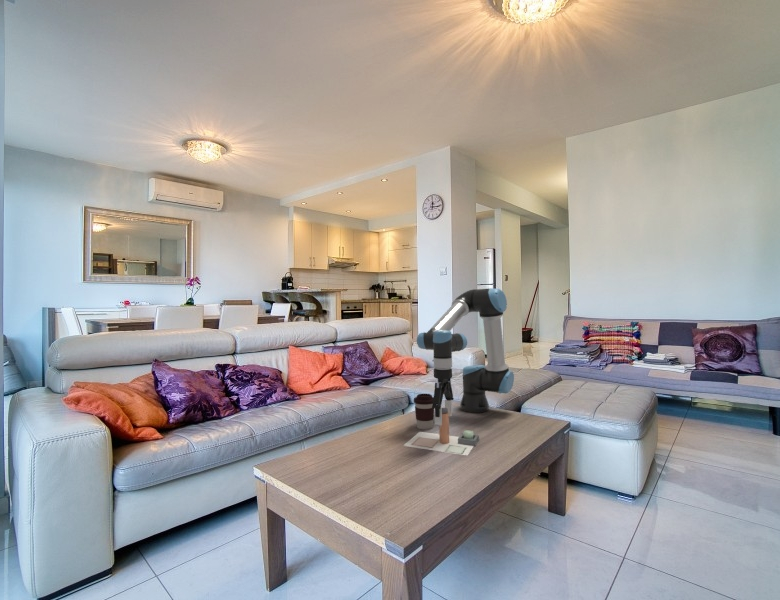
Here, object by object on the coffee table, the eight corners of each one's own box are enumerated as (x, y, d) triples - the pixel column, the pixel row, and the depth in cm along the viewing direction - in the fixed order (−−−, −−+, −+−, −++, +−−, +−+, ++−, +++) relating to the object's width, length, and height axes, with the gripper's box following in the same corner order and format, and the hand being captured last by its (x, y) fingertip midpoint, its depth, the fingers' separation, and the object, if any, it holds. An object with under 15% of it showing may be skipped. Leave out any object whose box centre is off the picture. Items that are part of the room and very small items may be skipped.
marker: (441, 439, 157) (440, 407, 158) (450, 441, 156) (449, 407, 156) (438, 442, 154) (437, 409, 154) (447, 444, 152) (447, 410, 152)
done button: (464, 437, 157) (464, 429, 157) (474, 438, 155) (474, 431, 156) (462, 440, 154) (462, 432, 154) (472, 442, 152) (472, 434, 152)
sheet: (419, 432, 168) (419, 431, 168) (478, 440, 157) (478, 439, 157) (403, 446, 152) (403, 445, 152) (467, 456, 141) (467, 455, 141)
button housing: (462, 437, 159) (462, 433, 159) (479, 440, 156) (478, 435, 156) (457, 443, 153) (457, 438, 153) (475, 445, 150) (475, 440, 150)
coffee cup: (435, 424, 179) (434, 392, 179) (436, 431, 169) (435, 397, 169) (414, 424, 180) (413, 392, 180) (413, 431, 170) (413, 397, 170)
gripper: (443, 363, 168) (443, 411, 167) (423, 372, 145) (424, 427, 145) (459, 364, 165) (460, 413, 164) (442, 373, 142) (443, 430, 142)
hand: (443, 420), depth 155 cm, fingers open, 13 cm apart
